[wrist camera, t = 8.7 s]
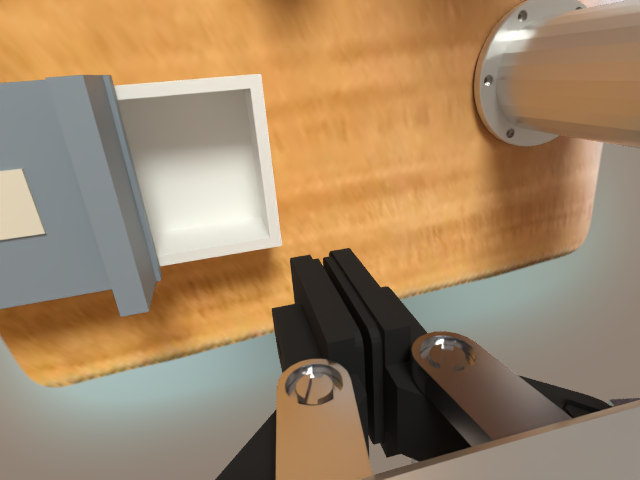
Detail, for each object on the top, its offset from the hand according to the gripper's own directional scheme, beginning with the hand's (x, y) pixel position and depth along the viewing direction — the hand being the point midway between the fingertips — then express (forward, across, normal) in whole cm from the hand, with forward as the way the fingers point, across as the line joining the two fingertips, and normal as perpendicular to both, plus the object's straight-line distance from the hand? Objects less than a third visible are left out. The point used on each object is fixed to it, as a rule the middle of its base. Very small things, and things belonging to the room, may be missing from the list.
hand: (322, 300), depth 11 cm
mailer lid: (+18, +15, 0) cm, 23 cm away
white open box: (+24, +6, 0) cm, 25 cm away
